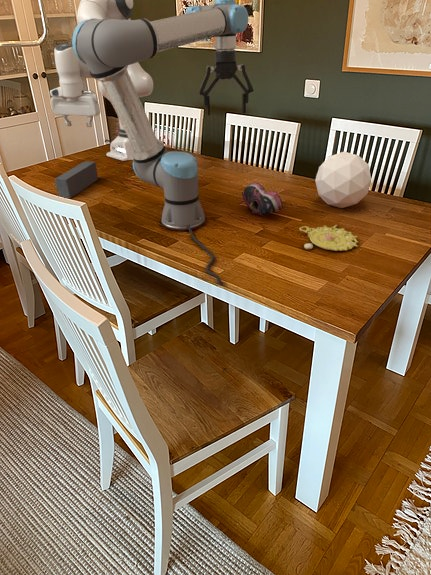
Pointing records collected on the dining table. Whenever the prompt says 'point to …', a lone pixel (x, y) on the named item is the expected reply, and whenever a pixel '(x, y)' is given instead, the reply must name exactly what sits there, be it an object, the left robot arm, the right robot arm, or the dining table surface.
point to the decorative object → (330, 238)
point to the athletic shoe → (261, 200)
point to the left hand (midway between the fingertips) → (79, 126)
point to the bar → (76, 179)
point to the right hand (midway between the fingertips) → (226, 113)
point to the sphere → (343, 179)
